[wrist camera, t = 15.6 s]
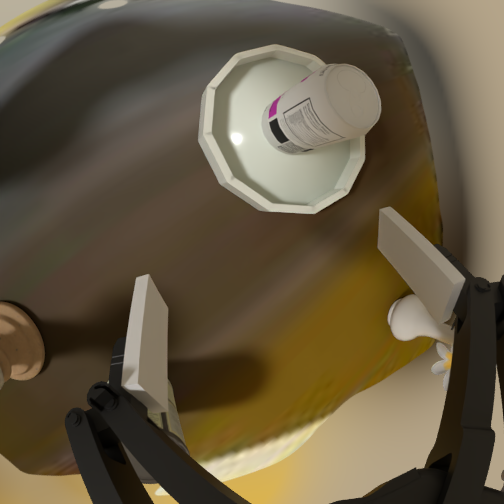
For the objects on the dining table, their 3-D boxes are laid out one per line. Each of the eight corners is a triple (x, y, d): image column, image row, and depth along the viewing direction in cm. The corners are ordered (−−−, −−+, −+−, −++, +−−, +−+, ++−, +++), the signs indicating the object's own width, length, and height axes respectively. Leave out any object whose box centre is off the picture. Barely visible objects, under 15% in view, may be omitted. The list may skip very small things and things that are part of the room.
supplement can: (256, 99, 35) (314, 51, 21) (308, 103, 38) (377, 68, 24) (261, 155, 37) (326, 130, 23) (315, 155, 39) (390, 138, 26)
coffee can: (129, 424, 37) (132, 491, 24) (94, 377, 34) (81, 443, 21) (185, 404, 40) (205, 470, 26) (155, 354, 37) (163, 419, 24)
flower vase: (360, 302, 48) (480, 356, 25) (422, 271, 53) (524, 300, 30) (361, 361, 51) (458, 425, 27) (420, 325, 56) (508, 364, 33)
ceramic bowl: (170, 85, 32) (172, 74, 29) (309, 45, 38) (321, 36, 34) (249, 243, 39) (259, 246, 36) (370, 173, 45) (384, 171, 41)
